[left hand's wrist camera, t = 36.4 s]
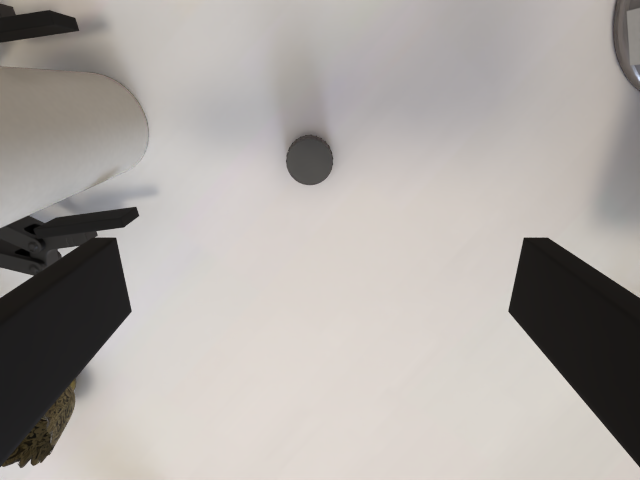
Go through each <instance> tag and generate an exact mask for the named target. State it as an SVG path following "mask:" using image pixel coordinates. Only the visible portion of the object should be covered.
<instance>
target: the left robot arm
mask: <svg viewBox="0 0 640 480" xmlns="http://www.w3.org/2000/svg"><path fill="white" fill-rule="evenodd" d="M614 43H615V49H616V54H617V58H618V61H619V63H620V66H621V68H622V70H623V72H624V74H625V75H626V77H627V78H628V80H629V81H630V82H631V83H632V85H633V86H634V87H636V88H637V89H638V90H639V91H640V0H617V5H616V10H615V17H614ZM131 312H132V311H131V306H130V301H129V297H128V292H127V287H126V282H125V278H124V273H123V268H122V263H121V259H120V254H119V249H118V245H117V240H116V238H91V239H90V240H88V241H87V242H85V243H83V244H82V245H80V246H79V247H77V248H76V249H74V250H73V251H71V252H70V253H68V254H67V255H65V256H64V257H62V258H61V259H59V260H58V261H56V262H55V263H53V264H51V265H50V266H48V267H47V268H45V269H44V270H42V271H41V272H39V273H38V274H36V275H35V276H33V277H32V278H30V279H29V280H27V281H26V282H24V283H23V284H21V285H20V286H18V287H16V288H15V289H13V290H12V291H10V292H9V293H7V294H6V295H4V296H3V297H1V298H0V467H1V466H2V465H3V463H4V462H5V461H6V460H7V459H8V457H9V456H10V455H11V454H12V453H13V452H14V450H15V449H16V448H17V447H18V446H19V444H20V443H21V442H22V441H23V440H24V438H25V437H26V436H27V435H28V434H29V433H30V431H31V430H32V429H33V428H34V427H35V425H36V424H37V423H38V422H39V421H40V419H41V418H42V417H43V416H44V415H45V414H46V412H47V411H48V410H49V409H50V408H51V406H52V405H53V404H54V403H55V402H56V401H57V399H58V398H59V397H60V396H61V395H62V393H63V392H64V391H65V390H66V389H67V387H68V386H69V385H70V384H71V383H72V382H73V380H74V379H75V378H76V377H77V376H78V374H79V373H80V372H81V371H82V370H83V369H84V367H85V366H86V365H87V364H88V363H89V361H90V360H91V359H92V358H93V357H94V355H95V354H96V353H97V352H98V351H99V350H100V348H101V347H102V346H103V345H104V344H105V342H106V341H107V340H108V339H109V338H110V337H111V335H112V334H113V333H114V332H115V331H116V329H117V328H118V327H119V326H120V325H121V323H122V322H123V321H124V320H125V319H126V318H127V316H128V315H129V314H130V313H131ZM508 312H509V313H510V314H511V315H512V316H513V318H514V319H515V320H516V321H517V322H518V323H519V325H520V326H521V327H522V328H523V329H524V331H525V332H526V333H527V334H528V335H529V337H530V338H531V339H532V340H533V341H534V342H535V344H536V345H537V346H538V347H539V348H540V350H541V351H542V352H543V353H544V354H545V355H546V357H547V358H548V359H549V360H550V361H551V363H552V364H553V365H554V366H555V367H556V369H557V370H558V371H559V372H560V373H561V374H562V376H563V377H564V378H565V379H566V380H567V382H568V383H569V384H570V385H571V386H572V387H573V389H574V390H575V391H576V392H577V393H578V395H579V396H580V397H581V398H582V399H583V401H584V402H585V403H586V404H587V405H588V406H589V408H590V409H591V410H592V411H593V412H594V414H595V415H596V416H597V417H598V418H599V419H600V421H601V422H602V423H603V424H604V425H605V427H606V428H607V429H608V430H609V431H610V433H611V434H612V435H613V436H614V437H615V438H616V440H617V441H618V442H619V443H620V444H621V446H622V447H623V448H624V449H625V450H626V452H627V453H628V454H629V455H630V456H631V457H632V459H633V460H634V461H635V462H636V463H637V465H638V466H639V467H640V298H639V297H637V296H636V295H634V294H633V293H631V292H630V291H628V290H627V289H625V288H624V287H622V286H620V285H619V284H617V283H616V282H614V281H613V280H611V279H610V278H608V277H607V276H605V275H604V274H602V273H601V272H599V271H598V270H596V269H595V268H593V267H592V266H590V265H589V264H587V263H585V262H584V261H582V260H581V259H579V258H578V257H576V256H575V255H573V254H572V253H570V252H569V251H567V250H566V249H564V248H563V247H561V246H560V245H558V244H557V243H555V242H553V241H552V240H550V239H549V238H524V240H523V245H522V249H521V254H520V259H519V263H518V268H517V273H516V278H515V282H514V287H513V292H512V297H511V301H510V306H509V311H508Z"/></svg>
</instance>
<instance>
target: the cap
mask: <svg viewBox="0 0 640 480" xmlns="http://www.w3.org/2000/svg"><path fill="white" fill-rule="evenodd" d="M288 151H289V152H288V153H287V160H286V162H287V168H288V171H289V173H290V175H291V176H292V177H293V178H294V179H295V180H296V181H298V182H299V183H302V184H305V185H314V184H318V183H320V182H322V181H323V180H325V179H326V178H327V177H328V175H329V174H330V172H331V170H332V165H333V157H332V155H331V154H332V152H331V150H330V148H329V145H327V144H326V142H325V141H323V140H322V138H319V137H317V136H312V135H311V136H310V135H309V136H306V135H305V136H303V137H300V138H299V139H296V141H295V142H294V143H292V145H291V147H290V148H289V150H288Z"/></svg>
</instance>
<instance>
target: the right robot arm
mask: <svg viewBox="0 0 640 480" xmlns="http://www.w3.org/2000/svg"><path fill="white" fill-rule="evenodd" d="M74 31H79V29H78V25H77V22H76V19H75V18H73V17H70V16H67V15H63V14H60V13H56V12H53V11H50V10H48V11H41V12H35V13H28V14H21V15H16V14H15V12H14V9H13V7H11V6H7V5H3V4H0V43H1V42H7V41H14V40H21V39H27V38H34V37H41V36H47V35H54V34H61V33H67V32H74ZM138 216H139V214H138V211H137V207H132V208H124V209H117V210H109V211H102V212H95V213H87V214H80V215H72V216H65V217H58V218H55V219H53V220H51V221H49V222H47V223H43V222H41V221H39V220H37V219H34V218H32V217H30V216H26V217H24V218H22V219H19V220H17V221H15V222H13V223H11V224H8V225H6V226H4V227H2V228H0V267H1V268H5V269H9V270H13V271H18V272H22V273H26V274H30V275H34V276H35V275H36V274H38V273H39V272H41V271H42V270H44V269H45V268H47V267H48V266H50V265H51V264H53V263H55V262H56V261H58V260H59V259H61V258H62V257H61V254H60V253H59V252H58V249H59V248H66V247H74V246H80V245H82V244H83V243H85V242H87V241H88V240H90V239H91V238H95V237H96V236H98V235H97V232H96V231H100V230H108V229H115V228H123V227H125V226H126V225H128V224H129V223H130V222H132V221H133V220H134V219H136V218H137V217H138Z"/></svg>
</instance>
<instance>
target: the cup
mask: <svg viewBox="0 0 640 480" xmlns="http://www.w3.org/2000/svg"><path fill="white" fill-rule="evenodd" d="M75 386H76V378H75V379H74V380H73V382H72V383H71V384H70V385H69V386H68V387H67V389H66V390H65V391H64V392H63V393H62V395H61V396H60V397H59V398H58V399H57V401H56V402H55V403H54V404H53V405H52V406H51V408H50V409H49V410H48V411H47V412H46V414H45V415H44V416H43V417H42V418H41V419H40V421H39V422H38V423H37V424H36V425H35V427H34V428H33V429H32V430H31V431H30V433H29V434H28V435H27V436H26V437H25V438H24V440H23V441H22V442H21V443H20V444H19V446H18V447H17V448H16V449H15V450H14V452H13V453H12V454H11V455H10V456H9V457H8V459H7V460H6V461H5V462H4V463H3V465H2V466H3V467H5V466H8V465H11V464H13V463H15V462H19V461H20V462H19V464H18V465H19V466H20V468H23V467H24V466H25V465H26V464H27V463H28V461H29V460H30V459H31V464H32V465H33V466H34V465H36V464H38V463H39V462H40V463H41V462H43V460H44V459H45V458H46V457H47V456H48V455H50V454H51V453H50V452H52V451H51V450H53V448H54V446H55V445H56V443H57V441H58V439H59V438H60V436H61V434H62V432H63V430H64V429H65V427H66V425H67V423H68V421H69V419H70V417H71V415H72V413H73V410H74V406H75V394H74V389H75ZM40 460H41V461H40Z"/></svg>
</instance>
